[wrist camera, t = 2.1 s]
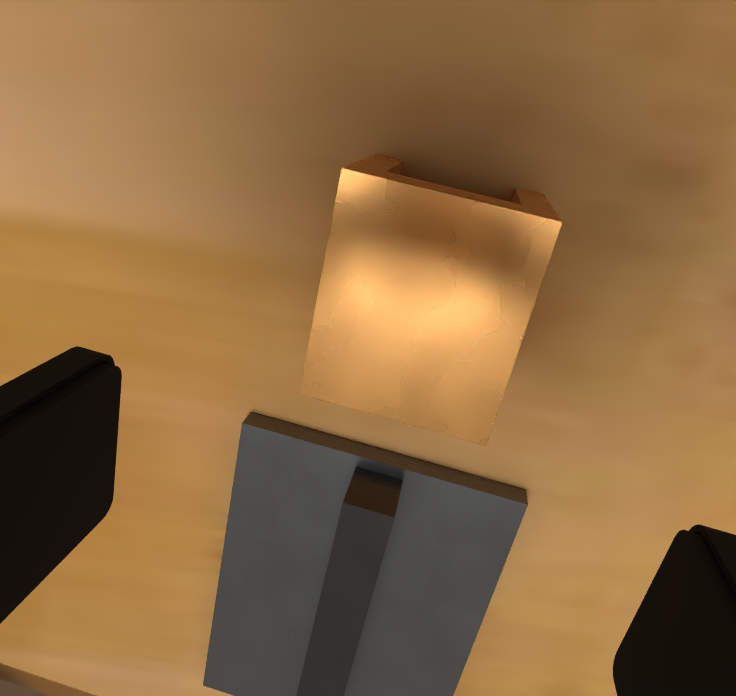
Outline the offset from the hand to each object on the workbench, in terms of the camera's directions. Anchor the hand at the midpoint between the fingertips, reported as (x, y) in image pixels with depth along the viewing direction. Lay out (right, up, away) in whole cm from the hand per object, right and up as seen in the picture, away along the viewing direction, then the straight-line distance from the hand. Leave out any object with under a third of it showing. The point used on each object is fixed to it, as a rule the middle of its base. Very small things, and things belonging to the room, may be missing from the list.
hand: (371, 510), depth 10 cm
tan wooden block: (+2, +6, +13) cm, 14 cm away
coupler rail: (-1, -9, +19) cm, 21 cm away
